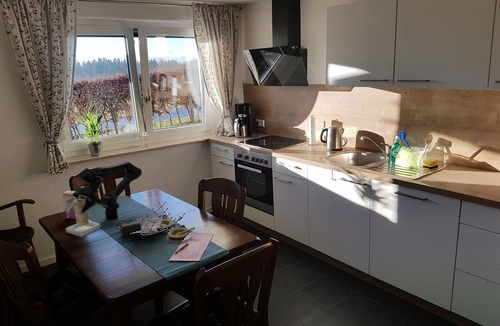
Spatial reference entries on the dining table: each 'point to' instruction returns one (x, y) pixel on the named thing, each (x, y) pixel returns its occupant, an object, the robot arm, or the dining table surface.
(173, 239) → the tableware set
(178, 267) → the dining table surface
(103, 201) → the robot arm
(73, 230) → the tray
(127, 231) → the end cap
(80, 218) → the maple block
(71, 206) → the candy bar box
